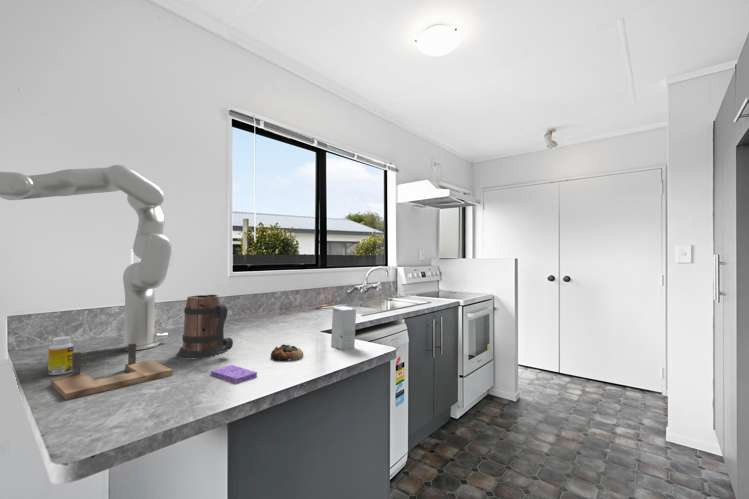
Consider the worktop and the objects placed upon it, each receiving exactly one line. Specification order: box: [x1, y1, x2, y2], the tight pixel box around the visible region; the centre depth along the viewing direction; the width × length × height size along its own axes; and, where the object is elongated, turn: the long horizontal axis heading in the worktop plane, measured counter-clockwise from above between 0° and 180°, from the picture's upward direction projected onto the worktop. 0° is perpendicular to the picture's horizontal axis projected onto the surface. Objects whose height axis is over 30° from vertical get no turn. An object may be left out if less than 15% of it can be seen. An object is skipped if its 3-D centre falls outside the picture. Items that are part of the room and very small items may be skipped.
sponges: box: [210, 364, 258, 384], centre depth 106 cm, size 7×13×2 cm, turn 54°
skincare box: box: [330, 305, 357, 351], centre depth 139 cm, size 8×6×15 cm
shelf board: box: [50, 343, 174, 401], centre depth 102 cm, size 24×17×8 cm
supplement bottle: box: [47, 336, 74, 376], centre depth 108 cm, size 6×6×10 cm
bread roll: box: [270, 344, 304, 362], centre depth 126 cm, size 11×11×5 cm
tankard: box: [175, 294, 234, 360], centre depth 130 cm, size 24×17×20 cm
